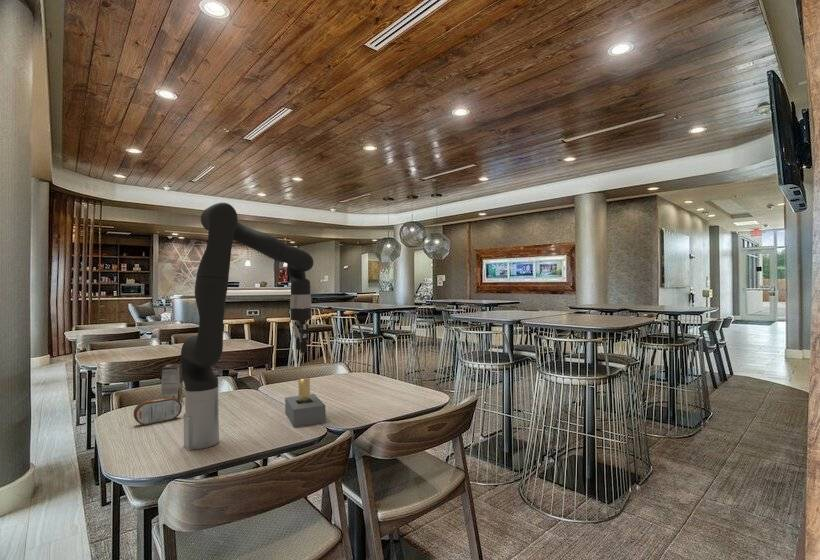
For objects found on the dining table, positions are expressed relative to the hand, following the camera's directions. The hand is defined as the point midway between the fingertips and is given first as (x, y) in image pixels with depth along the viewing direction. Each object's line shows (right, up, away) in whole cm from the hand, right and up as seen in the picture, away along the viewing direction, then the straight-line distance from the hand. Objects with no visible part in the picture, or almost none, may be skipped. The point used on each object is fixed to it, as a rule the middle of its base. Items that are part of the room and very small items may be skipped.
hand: (301, 351), depth 154 cm
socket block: (+1, -24, 0) cm, 24 cm away
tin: (-51, -26, -2) cm, 57 cm away
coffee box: (-60, -26, +22) cm, 69 cm away
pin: (+1, -22, 0) cm, 22 cm away
